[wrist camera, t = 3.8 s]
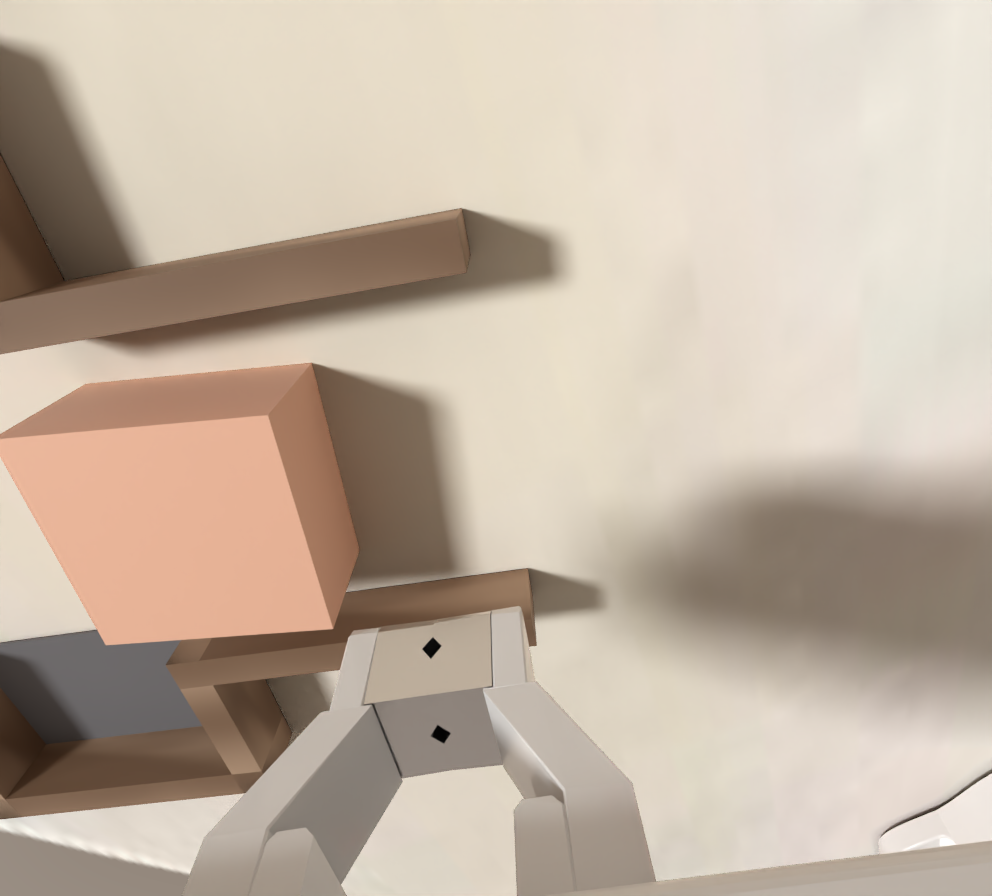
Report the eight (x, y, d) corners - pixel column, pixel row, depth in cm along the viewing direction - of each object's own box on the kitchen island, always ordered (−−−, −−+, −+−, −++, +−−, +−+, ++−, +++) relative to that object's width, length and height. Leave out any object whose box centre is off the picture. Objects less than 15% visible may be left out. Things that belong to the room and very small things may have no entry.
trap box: (552, 703, 24) (562, 799, 21) (-115, 779, 27) (-209, 877, 23) (408, -87, 13) (373, -176, 9) (-752, 175, 15) (-1139, 185, 11)
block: (360, 546, 21) (333, 629, 17) (171, 561, 21) (105, 645, 18) (314, 360, 18) (268, 414, 14) (90, 381, 18) (-10, 439, 14)
